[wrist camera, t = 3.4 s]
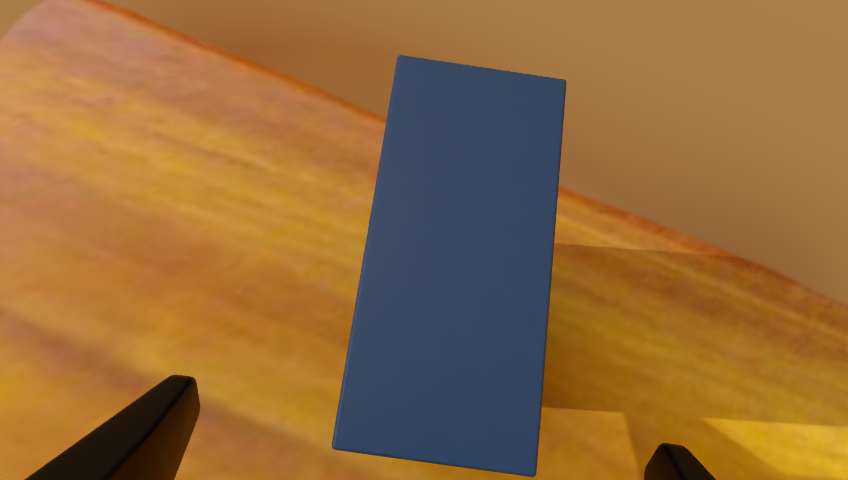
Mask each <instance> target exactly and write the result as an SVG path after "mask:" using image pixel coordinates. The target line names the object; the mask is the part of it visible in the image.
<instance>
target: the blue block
mask: <svg viewBox="0 0 848 480" xmlns="http://www.w3.org/2000/svg"><path fill="white" fill-rule="evenodd" d="M565 92H566V80H563V79H556V78H550V77H543V76H536V75H529V74H522V73H516V72H510V71H502V70H496V69H489V68H483V67H476V66H469V65H463V64H456V63H449V62H442V61H436V60H429V59H423V58H416V57H409V56H402V55H400V56H398V58H397V63H396V69H395V75H394V81H393V87H392V93H391V98H390V105H389V110H388V116H387V122H386V128H385V133H384V139H383V145H382V151H381V157H380V163H379V169H378V175H377V181H376V187H375V193H374V198H373V204H372V210H371V216H370V222H369V228H368V234H367V240H366V246H365V252H364V258H363V263H362V269H361V275H360V281H359V287H358V293H357V299H356V305H355V311H354V317H353V323H352V328H351V334H350V340H349V346H348V352H347V358H346V364H345V370H344V376H343V382H342V387H341V393H340V399H339V405H338V411H337V417H336V423H335V429H334V435H333V441H332V448H333V449H335V450H340V451H348V452H355V453H362V454H369V455H377V456H384V457H391V458H398V459H406V460H413V461H420V462H427V463H435V464H442V465H449V466H456V467H464V468H471V469H478V470H485V471H492V472H500V473H507V474H514V475H521V476H529V477H534V476H535V475H536V470H537V457H538V444H539V431H540V418H541V405H542V392H543V379H544V366H545V353H546V340H547V327H548V314H549V301H550V288H551V275H552V262H553V249H554V236H555V223H556V210H557V197H558V184H559V171H560V158H561V146H562V145H561V144H562V133H563V119H564V106H565Z"/></svg>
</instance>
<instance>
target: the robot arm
mask: <svg viewBox="0 0 848 480" xmlns="http://www.w3.org/2000/svg"><path fill="white" fill-rule="evenodd" d="M199 412H200V401H199V395H198V389H197V383H196V380H195V379H194V378H193V377H190V376H183V375H172V376H169V377H168V378H166V379H165V380H163V381H162V382H161V383H159V384H158V385H156V386H155V387H154V388H152V389H151V390H149V391H148V392H147V393H145V394H144V395H142V396H141V397H140V398H138V399H137V400H135V401H134V402H133V403H131V404H130V405H128V406H127V407H126V408H124V409H123V410H121V411H120V412H119V413H117V414H116V415H114V416H113V417H112V418H110V419H109V420H107V421H106V422H105V423H103V424H102V425H100V426H99V427H98V428H96V429H95V430H93V431H92V432H91V433H89V434H88V435H86V436H85V437H84V438H82V439H81V440H79V441H78V442H77V443H75V444H74V445H72V446H71V447H70V448H68V449H67V450H65V451H64V452H63V453H61V454H60V455H58V456H57V457H56V458H54V459H53V460H51V461H50V462H49V463H47V464H46V465H44V466H43V467H42V468H40V469H39V470H37V471H36V472H35V473H33V474H32V475H30V476H29V477H28V478H26V479H25V480H174V478H175V476H176V473H177V471H178V468H179V466H180V463H181V460H182V458H183V455H184V453H185V450H186V448H187V445H188V442H189V440H190V437H191V435H192V432H193V429H194V427H195V424H196V422H197V419H198V416H199ZM644 480H716V479H715V478H714V477H713V476H712V475H711V474H710V473H709V472H708V471H707V469H706V468H705V467H704V466H703V465H702V464H701V463H700V462H699V461H698V460H697V459H696V458H695V457H694V456H693V455H692V453H691V452H690V451H689V450H688V449H686V448H685V447H684V446H681V445H676V444H669V443H662V444H660V445H659V446H658V448H657V449H656V451H655V453H654V454H653V456H652V458H651V459H650V461H649V462H648V464H647V466H646V468H645V473H644Z"/></svg>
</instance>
